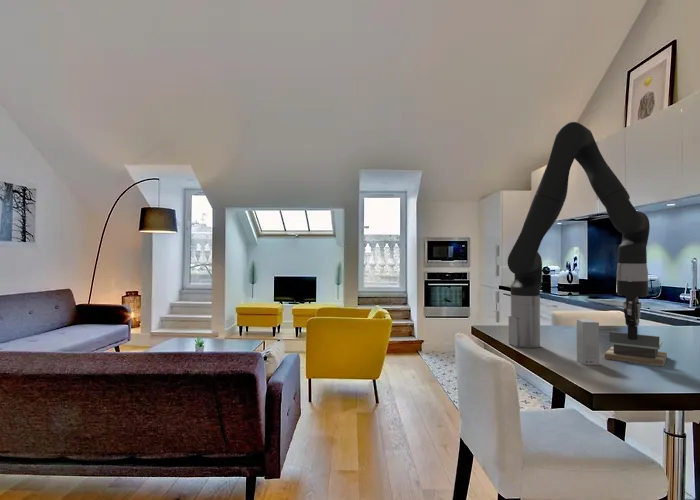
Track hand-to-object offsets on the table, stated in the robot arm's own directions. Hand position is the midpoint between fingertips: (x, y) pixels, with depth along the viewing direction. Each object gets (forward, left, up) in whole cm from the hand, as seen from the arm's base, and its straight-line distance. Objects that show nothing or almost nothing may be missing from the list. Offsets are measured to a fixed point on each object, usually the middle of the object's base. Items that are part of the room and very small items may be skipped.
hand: (632, 339), depth 121 cm
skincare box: (-13, 0, -7) cm, 15 cm away
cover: (+5, +5, -2) cm, 8 cm away
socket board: (+5, +4, -6) cm, 9 cm away
